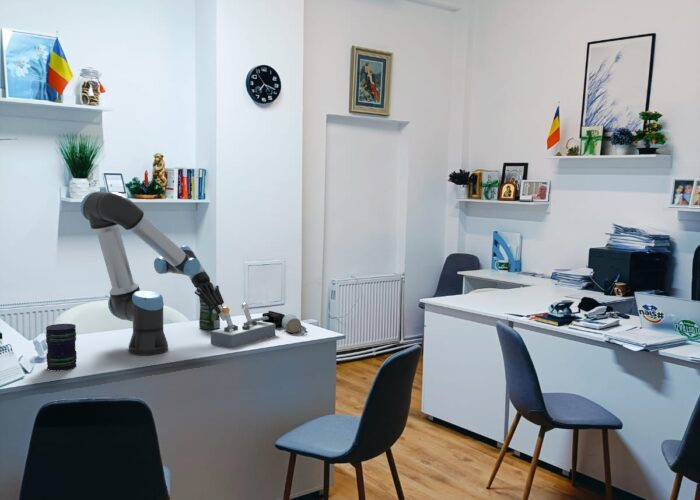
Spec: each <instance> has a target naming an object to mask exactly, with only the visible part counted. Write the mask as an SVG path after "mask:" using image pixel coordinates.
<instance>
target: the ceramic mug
mask: <svg viewBox="0 0 700 500" xmlns="http://www.w3.org/2000/svg"><path fill="white" fill-rule="evenodd" d="M282 328H284V330H286V331H288V332H289V333H291V334H296V333H298V332H300V331H302V332H306V330H307V327H305V326H303V324H302V322H301V320H300V319H299V318H298V317H297V316H296V315H295V314H293V313H287V314H286V315H285V316H284V318H283V320H282Z"/></svg>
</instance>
